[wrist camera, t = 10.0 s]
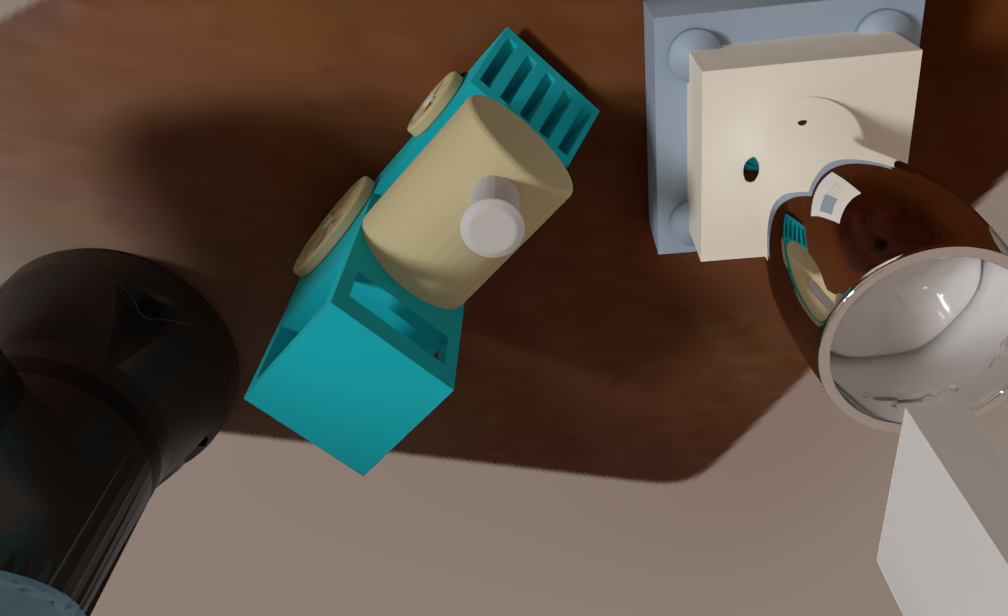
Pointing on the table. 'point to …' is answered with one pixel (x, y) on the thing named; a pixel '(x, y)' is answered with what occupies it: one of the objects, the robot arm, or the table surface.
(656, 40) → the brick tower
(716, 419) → the table surface
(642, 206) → the table surface
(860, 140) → the beer glass
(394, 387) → the toy train
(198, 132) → the table surface
